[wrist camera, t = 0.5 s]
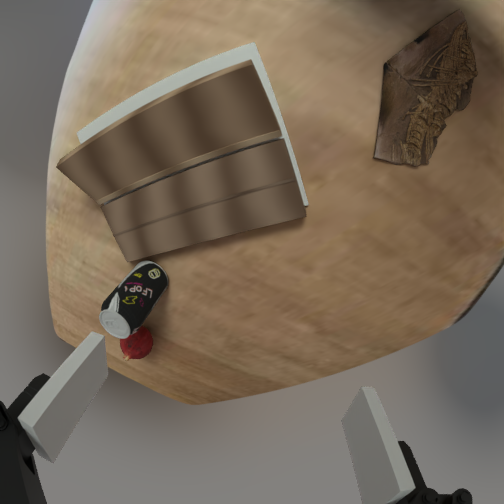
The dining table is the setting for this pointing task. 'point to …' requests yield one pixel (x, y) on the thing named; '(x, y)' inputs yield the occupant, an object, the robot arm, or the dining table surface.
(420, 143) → the wooden fragment
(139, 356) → the pomegranate
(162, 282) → the beverage can
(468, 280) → the dining table surface
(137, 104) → the underlay mat
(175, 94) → the plank
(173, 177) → the laid board
